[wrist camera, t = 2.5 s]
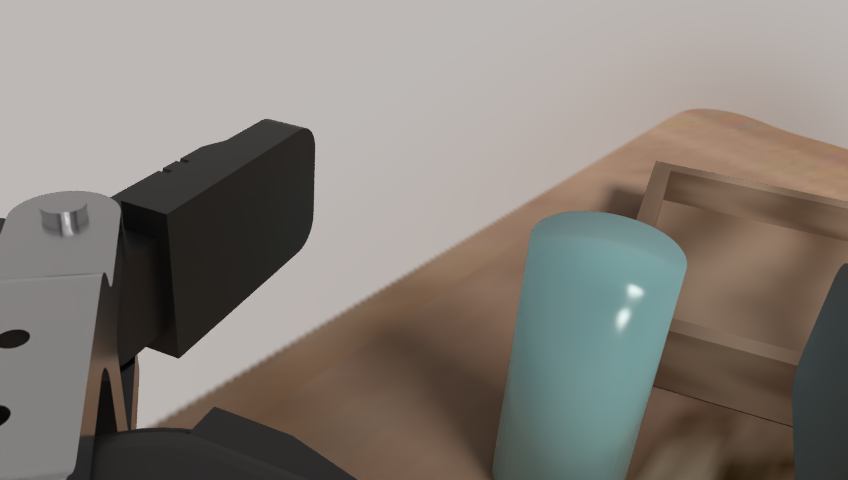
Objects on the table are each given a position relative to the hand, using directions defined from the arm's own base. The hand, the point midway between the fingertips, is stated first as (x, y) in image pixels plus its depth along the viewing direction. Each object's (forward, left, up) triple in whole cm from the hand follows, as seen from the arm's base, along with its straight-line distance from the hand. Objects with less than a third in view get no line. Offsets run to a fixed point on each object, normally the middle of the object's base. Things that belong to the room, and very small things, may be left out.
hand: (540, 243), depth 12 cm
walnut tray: (-9, -27, -16) cm, 33 cm away
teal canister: (0, -11, -16) cm, 20 cm away
